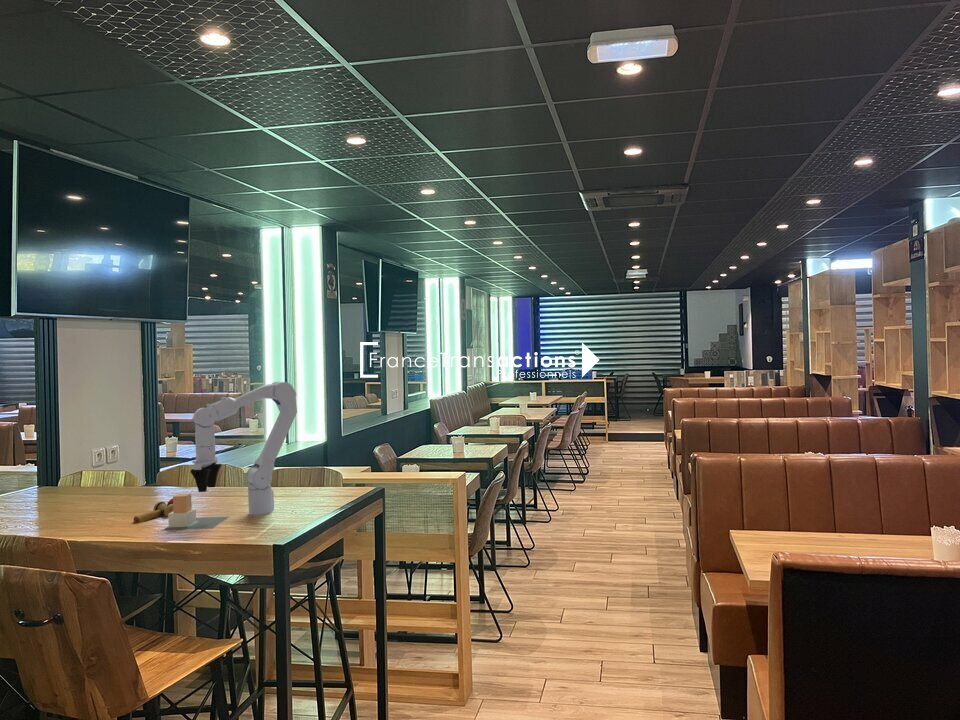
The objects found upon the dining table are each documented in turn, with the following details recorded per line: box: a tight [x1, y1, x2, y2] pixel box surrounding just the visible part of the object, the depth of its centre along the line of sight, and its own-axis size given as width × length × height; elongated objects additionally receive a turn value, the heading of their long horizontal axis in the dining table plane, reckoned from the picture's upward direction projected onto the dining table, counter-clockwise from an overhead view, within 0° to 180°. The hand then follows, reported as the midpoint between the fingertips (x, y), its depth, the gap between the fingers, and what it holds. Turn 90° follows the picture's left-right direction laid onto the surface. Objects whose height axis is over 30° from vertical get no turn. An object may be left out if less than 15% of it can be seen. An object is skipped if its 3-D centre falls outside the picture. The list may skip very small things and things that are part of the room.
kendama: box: [133, 497, 173, 523], centre depth 235 cm, size 8×6×18 cm
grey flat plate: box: [161, 516, 230, 531], centre depth 223 cm, size 16×15×1 cm
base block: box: [167, 508, 197, 527], centre depth 222 cm, size 6×6×4 cm
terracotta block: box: [172, 493, 193, 513], centre depth 222 cm, size 4×4×5 cm
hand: (207, 489), depth 227 cm, fingers open, 7 cm apart
